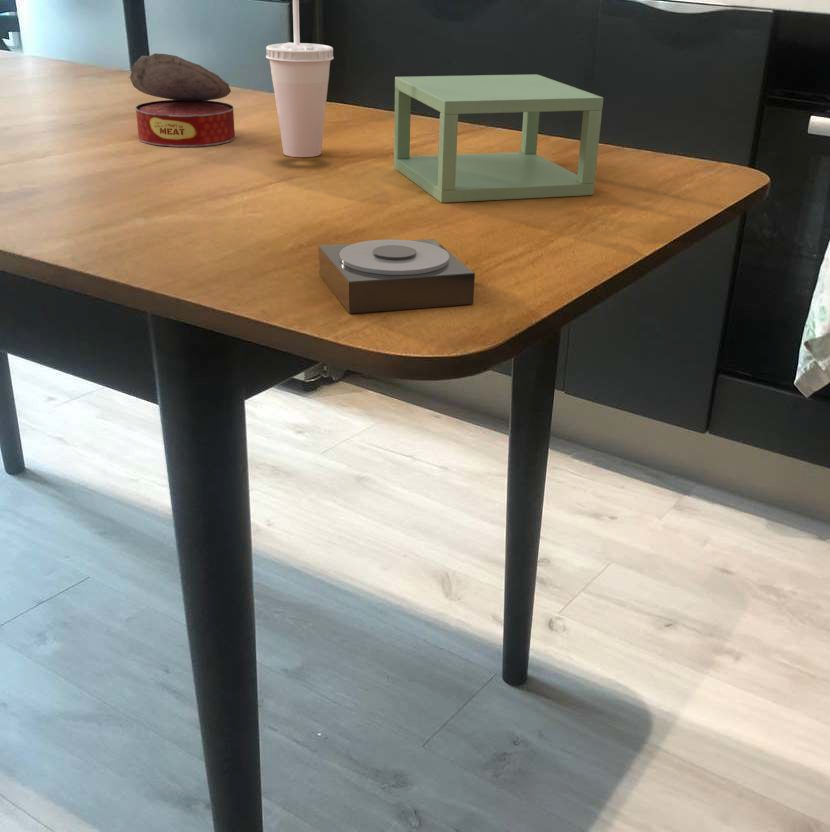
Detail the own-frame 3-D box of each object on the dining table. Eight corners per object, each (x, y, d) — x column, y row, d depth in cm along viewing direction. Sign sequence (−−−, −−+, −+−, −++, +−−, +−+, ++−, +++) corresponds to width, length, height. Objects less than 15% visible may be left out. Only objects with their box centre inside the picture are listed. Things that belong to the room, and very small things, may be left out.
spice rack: (441, 202, 90) (444, 101, 86) (393, 167, 102) (394, 76, 98) (593, 195, 94) (603, 97, 90) (530, 162, 106) (537, 74, 102)
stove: (349, 314, 65) (349, 273, 64) (319, 275, 72) (318, 238, 71) (473, 304, 68) (475, 264, 66) (433, 267, 74) (434, 231, 73)
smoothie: (315, 144, 110) (312, -8, 104) (346, 156, 106) (346, -3, 99) (258, 150, 107) (251, -7, 100) (288, 162, 103) (283, -1, 96)
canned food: (140, 184, 113) (97, 90, 111) (216, 161, 119) (177, 71, 117) (189, 147, 104) (144, 44, 102) (269, 124, 110) (228, 26, 108)
